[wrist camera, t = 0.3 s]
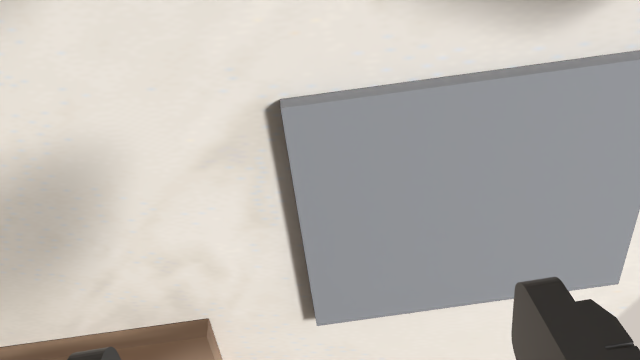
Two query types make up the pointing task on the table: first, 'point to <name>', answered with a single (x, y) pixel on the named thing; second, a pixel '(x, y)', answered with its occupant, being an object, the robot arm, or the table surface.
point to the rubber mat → (466, 185)
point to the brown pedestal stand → (130, 344)
